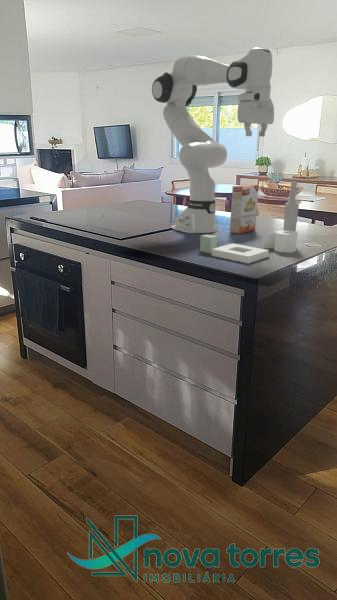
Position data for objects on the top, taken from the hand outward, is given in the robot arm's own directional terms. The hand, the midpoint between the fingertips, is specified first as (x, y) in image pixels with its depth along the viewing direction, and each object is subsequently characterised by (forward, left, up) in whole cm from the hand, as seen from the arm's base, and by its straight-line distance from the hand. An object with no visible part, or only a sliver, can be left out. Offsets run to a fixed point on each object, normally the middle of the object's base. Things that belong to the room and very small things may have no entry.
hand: (255, 136), depth 171 cm
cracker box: (-15, +18, -42) cm, 48 cm away
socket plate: (+11, -22, -41) cm, 48 cm away
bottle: (+15, +6, -42) cm, 45 cm away
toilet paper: (+16, -2, -42) cm, 45 cm away
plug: (-2, -24, -41) cm, 48 cm away
